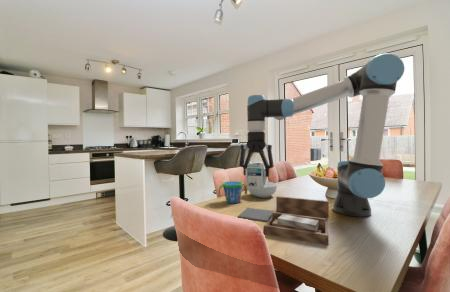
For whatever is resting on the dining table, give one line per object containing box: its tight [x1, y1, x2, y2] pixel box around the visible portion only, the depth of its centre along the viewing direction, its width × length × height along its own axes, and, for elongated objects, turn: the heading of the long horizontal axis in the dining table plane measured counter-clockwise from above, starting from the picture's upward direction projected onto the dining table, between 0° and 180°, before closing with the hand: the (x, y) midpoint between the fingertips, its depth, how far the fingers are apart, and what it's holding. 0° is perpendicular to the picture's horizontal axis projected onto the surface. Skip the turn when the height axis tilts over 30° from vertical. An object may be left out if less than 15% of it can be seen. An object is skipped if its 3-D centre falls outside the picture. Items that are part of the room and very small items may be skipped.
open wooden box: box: [263, 195, 330, 246], centre depth 87 cm, size 21×23×8 cm
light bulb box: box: [247, 161, 265, 190], centre depth 101 cm, size 11×7×11 cm, turn 168°
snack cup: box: [217, 180, 248, 204], centre depth 122 cm, size 16×10×10 cm
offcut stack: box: [272, 214, 321, 233], centre depth 82 cm, size 16×6×5 cm, turn 60°
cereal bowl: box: [247, 181, 278, 199], centre depth 134 cm, size 17×17×7 cm
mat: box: [237, 207, 276, 223], centre depth 101 cm, size 13×13×1 cm
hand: (256, 183), depth 101 cm, fingers closed on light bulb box, 7 cm apart
